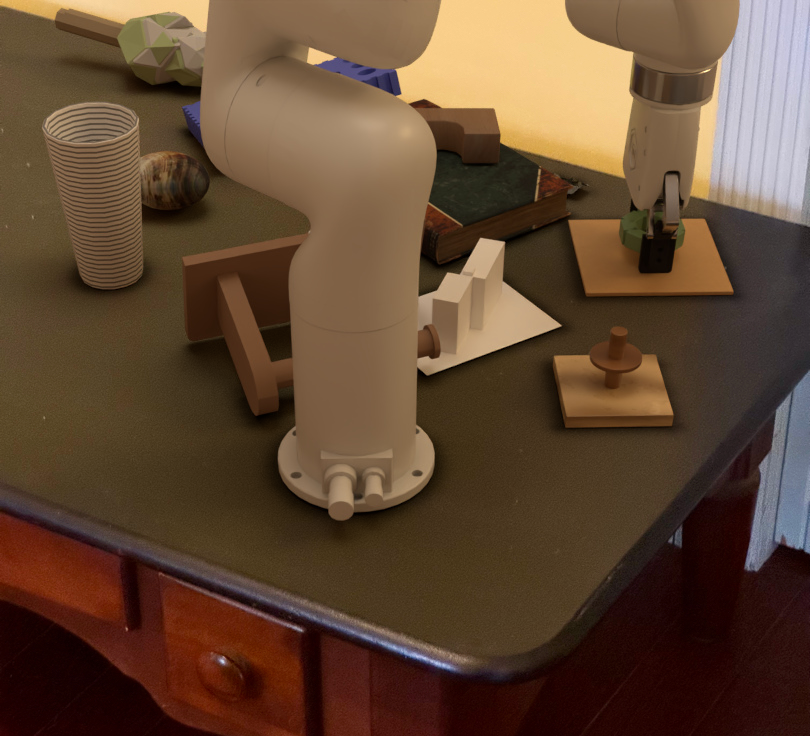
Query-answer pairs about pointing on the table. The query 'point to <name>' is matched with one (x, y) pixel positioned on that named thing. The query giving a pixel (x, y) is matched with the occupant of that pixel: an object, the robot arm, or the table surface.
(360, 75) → the blue perforated plate
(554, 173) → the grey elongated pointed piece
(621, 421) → the ring peg
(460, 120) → the wooden block
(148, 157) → the seashell
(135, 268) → the cup
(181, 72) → the decorative object
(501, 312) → the napkin holder
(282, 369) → the toilet paper hanger
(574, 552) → the table surface
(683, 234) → the ring
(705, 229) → the cork mat
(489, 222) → the book
